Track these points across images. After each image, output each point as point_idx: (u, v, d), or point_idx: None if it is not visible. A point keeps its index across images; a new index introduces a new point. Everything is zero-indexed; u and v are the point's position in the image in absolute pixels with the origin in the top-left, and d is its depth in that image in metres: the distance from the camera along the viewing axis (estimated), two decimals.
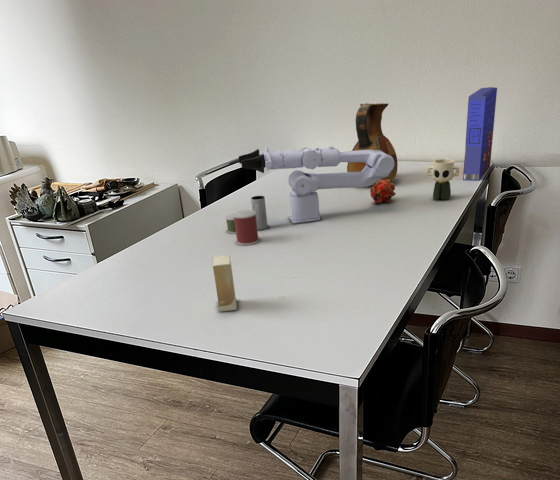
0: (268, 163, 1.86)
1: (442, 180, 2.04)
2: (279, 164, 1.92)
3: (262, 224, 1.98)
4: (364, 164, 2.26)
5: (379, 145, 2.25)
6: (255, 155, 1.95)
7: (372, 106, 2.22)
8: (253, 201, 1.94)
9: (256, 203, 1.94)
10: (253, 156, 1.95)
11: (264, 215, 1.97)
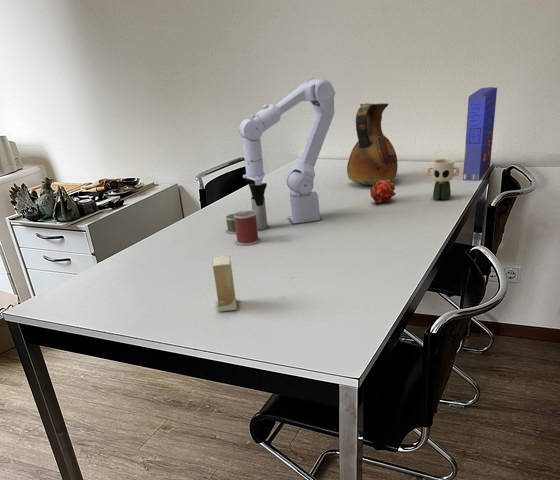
0: (257, 182, 1.86)
1: (442, 180, 2.04)
2: (258, 164, 1.88)
3: (262, 224, 1.98)
4: (364, 164, 2.26)
5: (379, 145, 2.25)
6: (251, 183, 1.96)
7: (372, 106, 2.22)
8: (253, 201, 1.94)
9: None
10: None
11: (264, 215, 1.97)
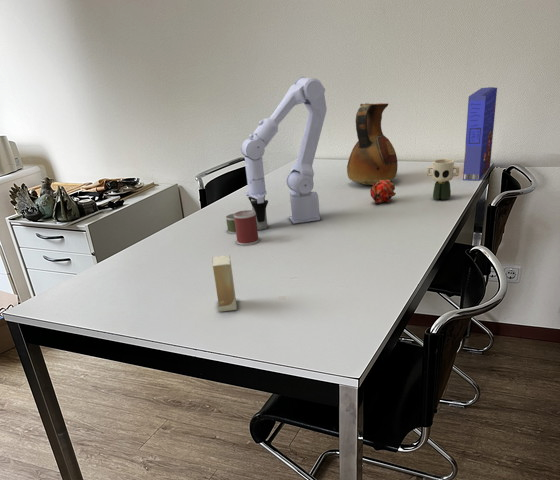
0: (259, 200, 1.89)
1: (442, 180, 2.04)
2: (259, 183, 1.91)
3: (262, 224, 1.98)
4: (364, 164, 2.26)
5: (379, 145, 2.25)
6: None
7: (372, 106, 2.22)
8: None
9: None
10: None
11: None
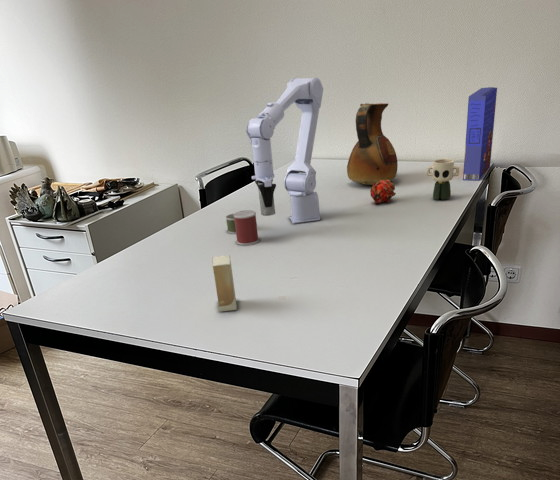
0: (266, 183, 1.78)
1: (442, 180, 2.04)
2: (267, 165, 1.79)
3: (269, 209, 1.87)
4: (364, 164, 2.26)
5: (379, 145, 2.25)
6: None
7: (372, 106, 2.22)
8: None
9: None
10: None
11: None
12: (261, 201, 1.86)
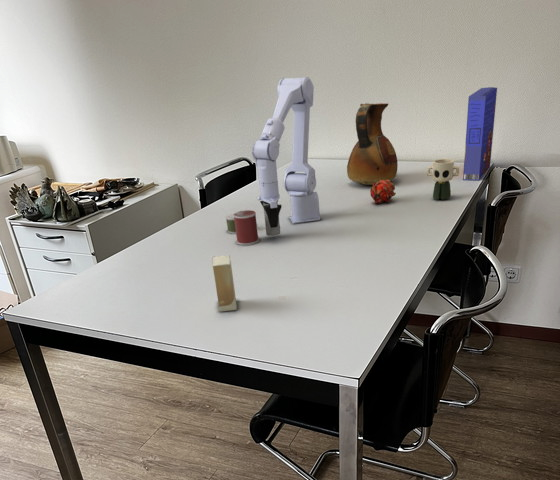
0: (272, 205, 1.78)
1: (442, 180, 2.04)
2: (273, 186, 1.80)
3: (274, 230, 1.87)
4: (364, 164, 2.26)
5: (379, 145, 2.25)
6: None
7: (372, 106, 2.22)
8: None
9: None
10: None
11: None
12: (266, 221, 1.86)
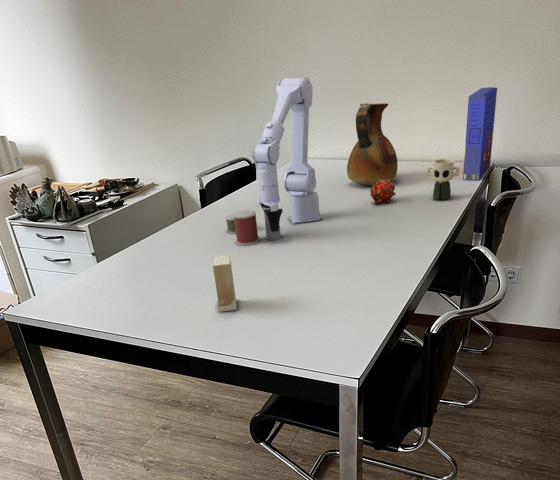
0: (272, 208, 1.79)
1: (442, 180, 2.04)
2: (273, 190, 1.80)
3: (275, 234, 1.88)
4: (364, 164, 2.26)
5: (379, 145, 2.25)
6: None
7: (372, 106, 2.22)
8: None
9: None
10: None
11: None
12: (267, 225, 1.87)
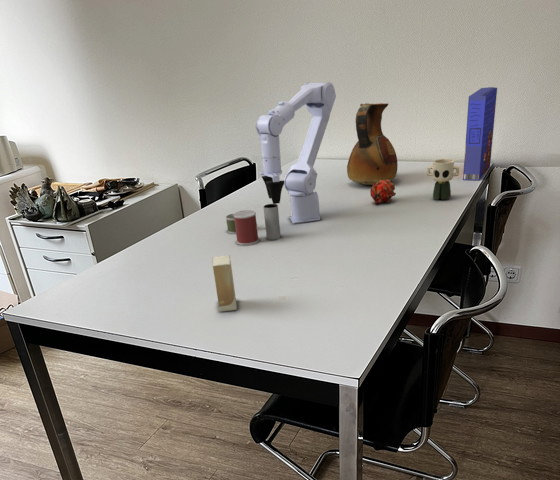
0: (275, 179, 1.81)
1: (442, 180, 2.04)
2: (275, 161, 1.83)
3: (275, 234, 1.88)
4: (364, 164, 2.26)
5: (379, 145, 2.25)
6: (267, 181, 1.92)
7: (372, 106, 2.22)
8: (266, 210, 1.84)
9: (269, 212, 1.84)
10: None
11: (277, 224, 1.87)
12: (267, 225, 1.87)
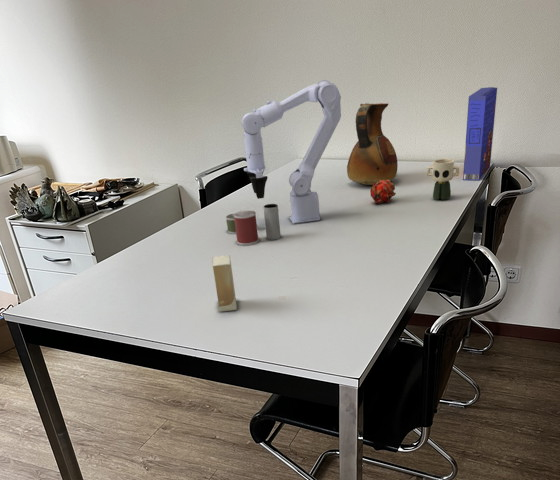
0: (258, 175, 1.89)
1: (442, 180, 2.04)
2: (258, 158, 1.90)
3: (275, 234, 1.88)
4: (364, 164, 2.26)
5: (379, 145, 2.25)
6: (252, 176, 1.99)
7: (372, 106, 2.22)
8: (266, 210, 1.84)
9: (269, 212, 1.84)
10: None
11: (277, 224, 1.87)
12: (267, 225, 1.87)
